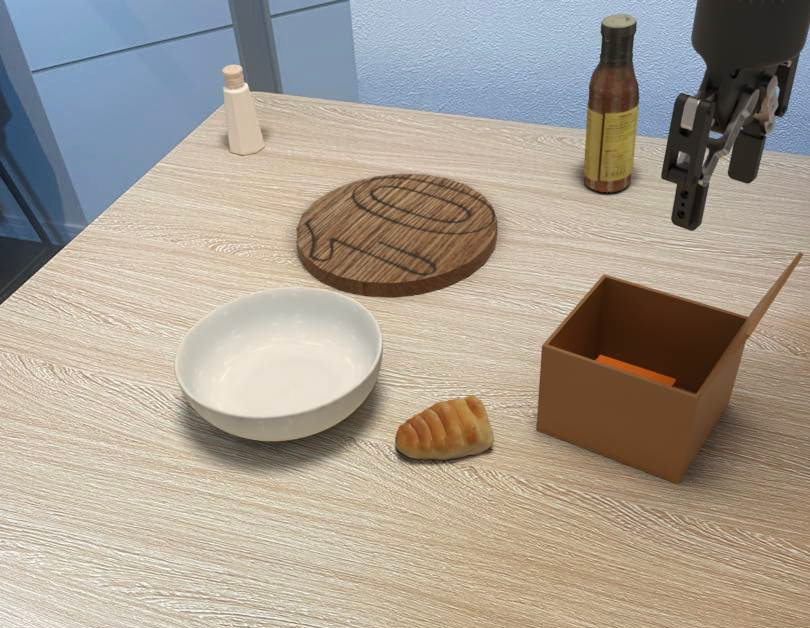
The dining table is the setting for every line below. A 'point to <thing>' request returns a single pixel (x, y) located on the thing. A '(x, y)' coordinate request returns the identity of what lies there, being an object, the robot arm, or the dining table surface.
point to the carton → (637, 376)
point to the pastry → (446, 431)
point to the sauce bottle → (612, 109)
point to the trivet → (397, 235)
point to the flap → (751, 323)
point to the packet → (637, 370)
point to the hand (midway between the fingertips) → (714, 201)
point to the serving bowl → (280, 362)
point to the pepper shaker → (240, 114)
